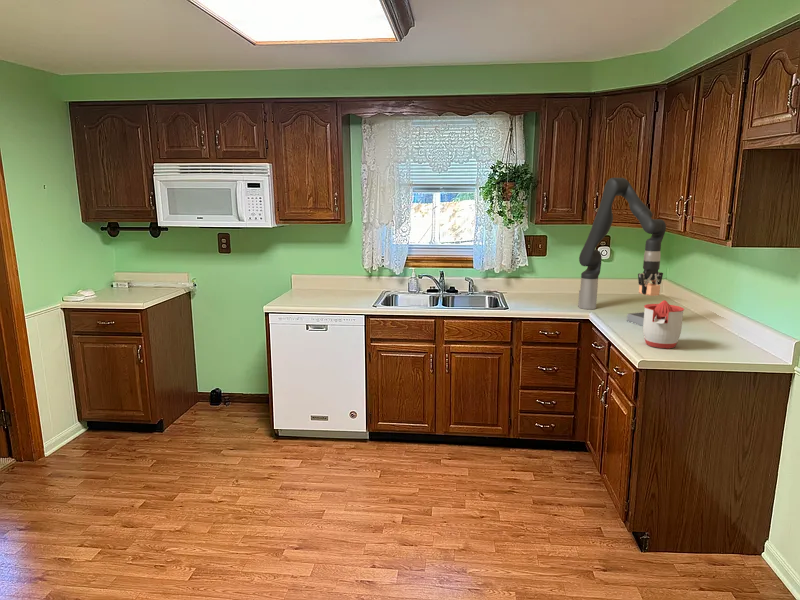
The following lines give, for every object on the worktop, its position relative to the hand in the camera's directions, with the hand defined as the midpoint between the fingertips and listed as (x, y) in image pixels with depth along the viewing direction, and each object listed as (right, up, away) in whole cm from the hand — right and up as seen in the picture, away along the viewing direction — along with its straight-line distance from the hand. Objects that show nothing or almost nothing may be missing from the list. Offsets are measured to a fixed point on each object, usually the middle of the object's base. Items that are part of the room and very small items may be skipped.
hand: (648, 293), depth 281 cm
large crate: (0, -15, +3) cm, 15 cm away
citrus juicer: (-12, -24, -39) cm, 47 cm away
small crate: (0, -1, 0) cm, 0 cm away
